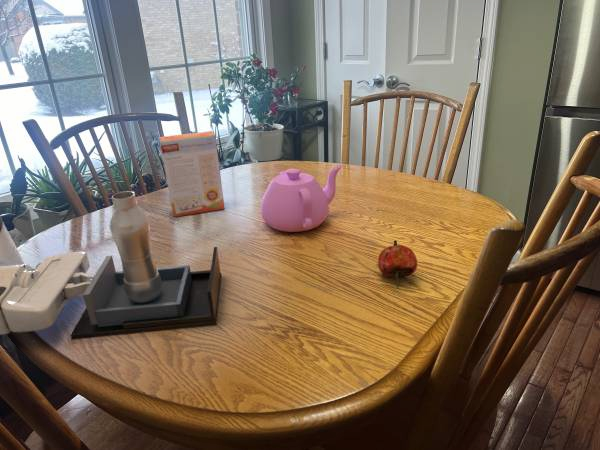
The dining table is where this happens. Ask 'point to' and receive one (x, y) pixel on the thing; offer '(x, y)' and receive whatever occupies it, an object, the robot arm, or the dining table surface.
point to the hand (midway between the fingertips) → (98, 282)
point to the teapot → (297, 200)
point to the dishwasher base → (196, 314)
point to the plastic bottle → (134, 249)
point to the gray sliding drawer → (123, 309)
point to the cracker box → (192, 173)
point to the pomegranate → (397, 261)
